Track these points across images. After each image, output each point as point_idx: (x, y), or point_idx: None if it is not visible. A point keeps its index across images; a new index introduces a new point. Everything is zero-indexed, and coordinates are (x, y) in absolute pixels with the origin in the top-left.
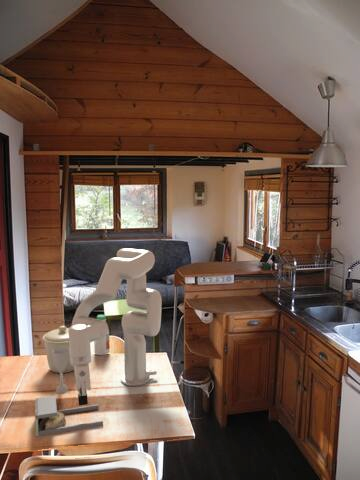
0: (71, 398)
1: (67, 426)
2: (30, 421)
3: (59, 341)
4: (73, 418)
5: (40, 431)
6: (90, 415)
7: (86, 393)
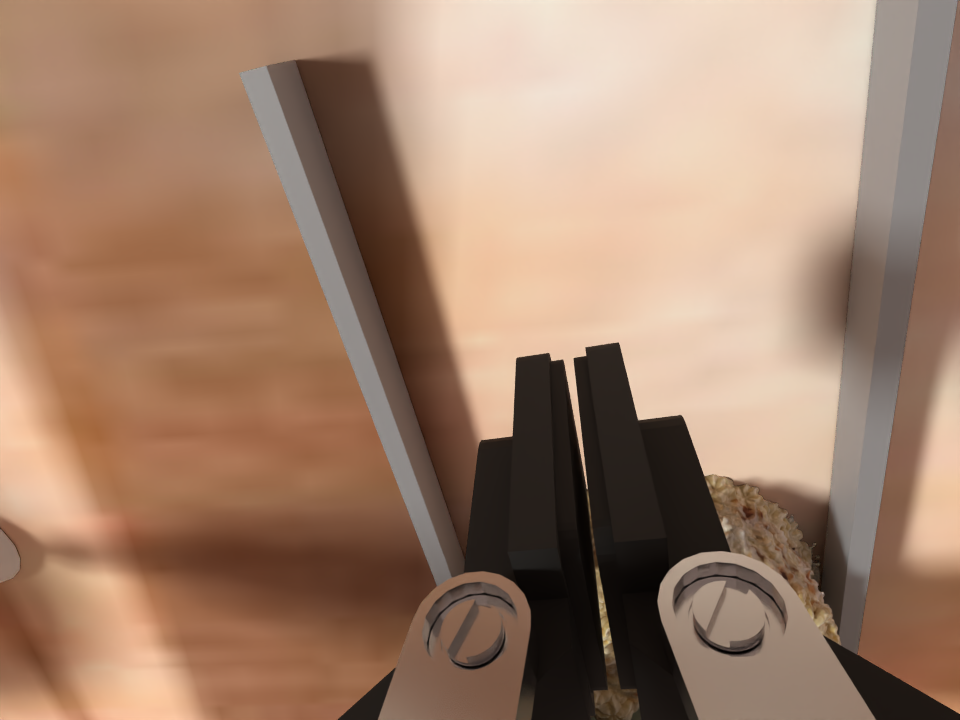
0: (89, 452)
1: (862, 487)
2: None
3: None
4: None
5: None
6: (506, 188)
7: (826, 645)
